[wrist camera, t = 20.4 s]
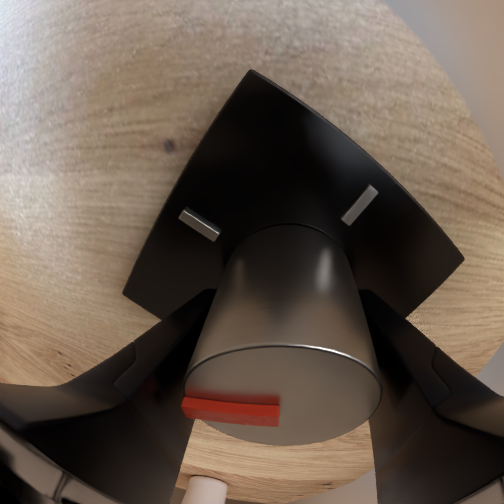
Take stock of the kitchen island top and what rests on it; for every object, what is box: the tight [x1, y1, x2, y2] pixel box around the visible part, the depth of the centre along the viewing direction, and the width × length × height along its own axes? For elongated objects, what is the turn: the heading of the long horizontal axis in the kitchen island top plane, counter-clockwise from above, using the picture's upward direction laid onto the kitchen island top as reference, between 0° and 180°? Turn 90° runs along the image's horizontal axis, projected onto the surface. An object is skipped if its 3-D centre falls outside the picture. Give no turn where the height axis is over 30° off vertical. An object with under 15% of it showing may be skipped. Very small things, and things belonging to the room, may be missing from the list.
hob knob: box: [181, 225, 383, 446], centre depth 7 cm, size 4×4×5 cm
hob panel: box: [122, 69, 465, 320], centre depth 10 cm, size 10×10×2 cm
